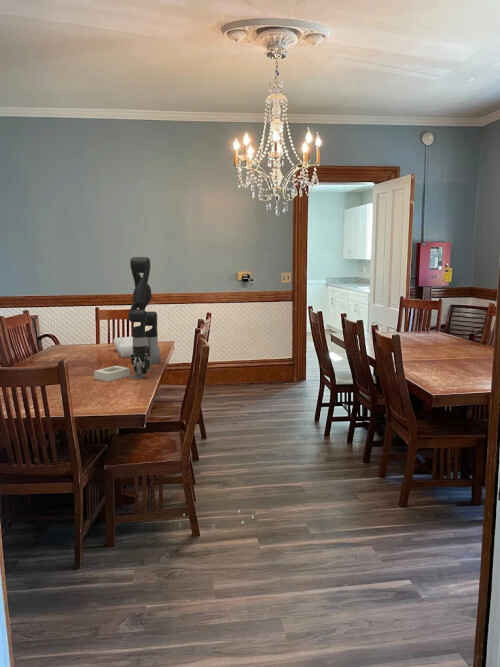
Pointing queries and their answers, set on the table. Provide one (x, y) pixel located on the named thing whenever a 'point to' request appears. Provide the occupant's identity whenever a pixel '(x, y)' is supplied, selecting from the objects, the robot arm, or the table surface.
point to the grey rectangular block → (138, 371)
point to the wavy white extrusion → (124, 346)
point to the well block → (111, 373)
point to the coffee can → (146, 356)
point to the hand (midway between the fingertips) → (140, 373)
